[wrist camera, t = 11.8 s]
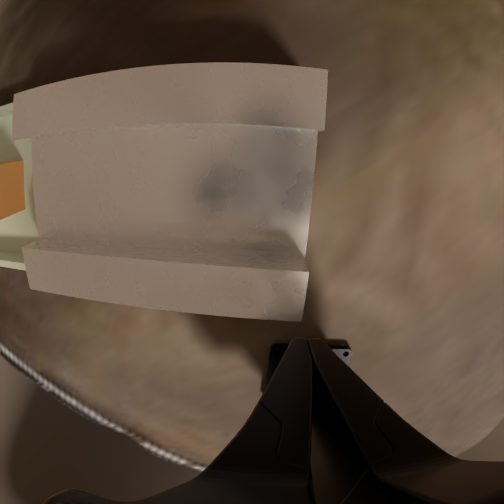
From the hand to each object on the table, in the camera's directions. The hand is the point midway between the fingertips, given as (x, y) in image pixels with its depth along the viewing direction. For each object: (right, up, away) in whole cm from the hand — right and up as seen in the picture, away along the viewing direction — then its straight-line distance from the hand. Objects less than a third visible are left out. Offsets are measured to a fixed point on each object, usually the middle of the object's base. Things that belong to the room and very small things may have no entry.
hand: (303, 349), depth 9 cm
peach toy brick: (-20, +7, +8) cm, 23 cm away
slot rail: (-7, +8, +10) cm, 15 cm away
